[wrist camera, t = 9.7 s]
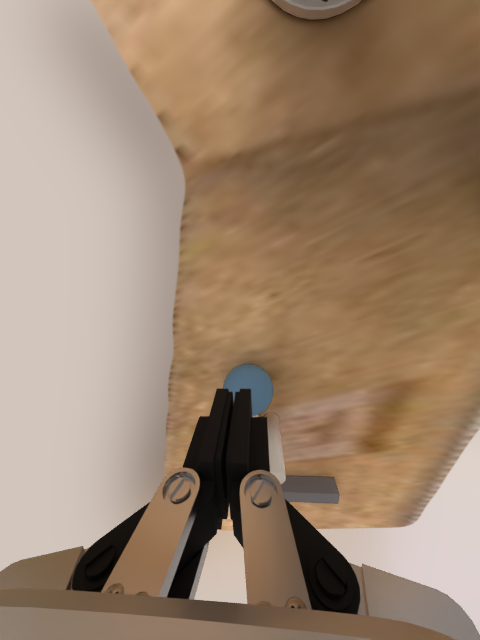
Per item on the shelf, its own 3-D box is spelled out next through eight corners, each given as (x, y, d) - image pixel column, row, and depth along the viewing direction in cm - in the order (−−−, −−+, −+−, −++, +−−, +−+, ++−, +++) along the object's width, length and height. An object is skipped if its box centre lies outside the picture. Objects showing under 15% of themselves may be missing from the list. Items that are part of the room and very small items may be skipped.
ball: (223, 421, 28) (229, 376, 32) (272, 425, 27) (272, 378, 31) (215, 403, 24) (223, 353, 27) (274, 407, 23) (274, 355, 27)
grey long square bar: (182, 472, 37) (176, 487, 35) (333, 477, 35) (339, 494, 33) (183, 481, 38) (178, 497, 35) (332, 486, 36) (338, 503, 33)
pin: (263, 412, 32) (264, 469, 24) (278, 412, 32) (285, 470, 24) (263, 425, 33) (265, 484, 25) (278, 425, 33) (285, 485, 25)
